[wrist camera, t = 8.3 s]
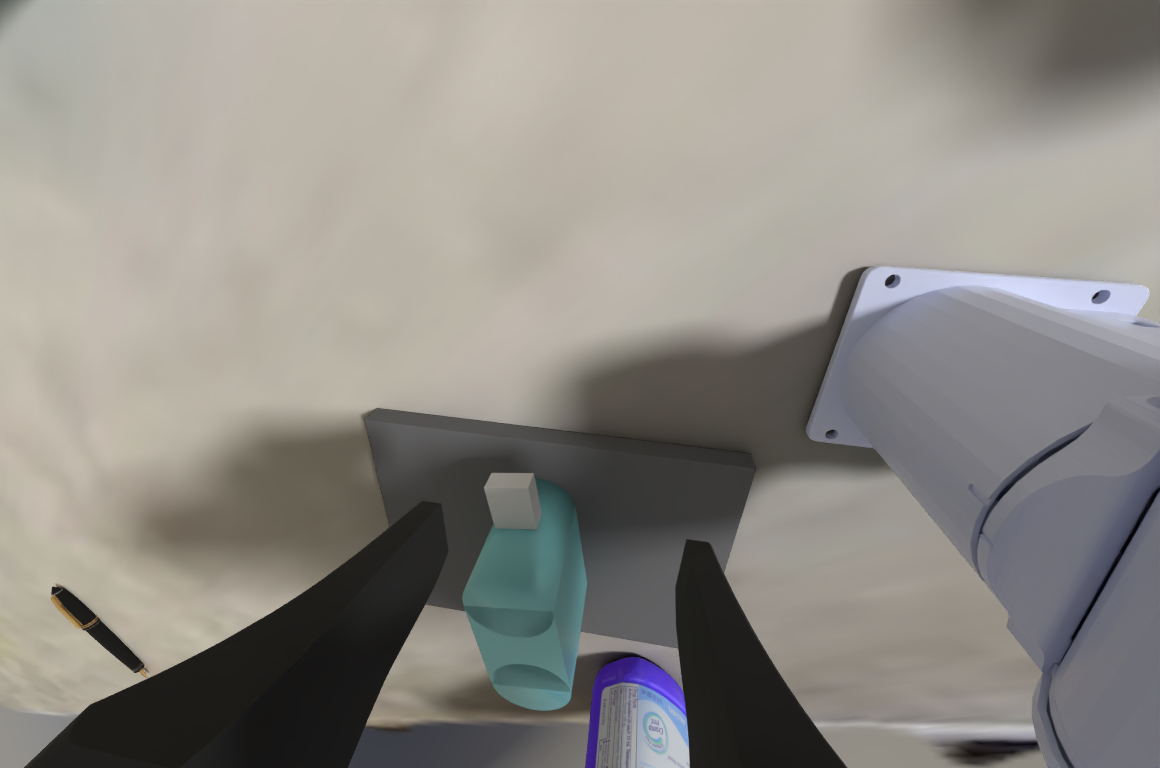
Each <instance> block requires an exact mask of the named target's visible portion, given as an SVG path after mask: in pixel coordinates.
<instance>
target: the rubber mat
mask: <svg viewBox="0 0 1160 768" xmlns="http://www.w3.org/2000/svg"><path fill="white" fill-rule="evenodd" d="M364 421H365V425H366V429H367V433H368V438H369V442H370V446H371V450H372V455H373V459H374V463H375V467H376V472H377V476H378V480H379V484H380V489H381V493H382V497H383V501H384V506H385V510H386V514H387V518H388V522H389V527H391V526H392V525H393V524H394V523H396V522H397V521H398V520H399V519H400V518H402V517H403V516H404V515H405V514H406V513H408V512H409V511H410V510H411V509H413V508H414V507H415V506H416V505H417V504H419V503H420V502H421V501H427V502H434V503H441V504H442V510H443V517H444V524H445V530H446V537H447V543H448V550H449V552H448V555H447V557H446V560H445V562H444V565H443V568H442V570H441V573H440V575H439V577H438V580H437V582H436V585H435V587H434V589H433V591H432V592H431V594H430V596H429V598H428V600H427V602H426V605H432V606H438V607H443V608H449V609H455V610H461V611H465V608H464V605H463V600H462V596H463V592H464V589H465V587H466V585H467V583H468V580H469V578H470V576H471V573H472V571H473V569H474V567H475V564H476V562H477V560H478V557H479V555H480V553H481V551H482V548H483V546H484V544H485V542H486V539H487V537H488V535H489V532H490V530H491V528H492V526H493V519H492V515H491V512H490V508H489V504H488V501H487V497H486V494H485V490H484V487H485V485H486V483H487V481H488V479H489V477H490V475H491V473H534V477H535V479H543V480H547V481H550V482H553V483H555V484H557V485H559V486H560V487H562V488H563V489H564V490H566V491H567V492H568V493H569V495H570V496H571V497H572V499H573V501H574V503H575V507H576V513H577V520H578V526H579V533H580V539H581V546H582V552H583V559H584V566H585V572H586V579H587V591H586V597H585V604H584V611H583V618H582V625H581V632H587V633H592V634H598V635H604V636H610V637H615V638H621V639H627V640H633V641H638V642H644V643H650V644H655V645H661V646H667V647H673V648H678V640H677V631H676V607H675V586H676V582H677V577H678V573H679V569H680V564H681V560H682V556H683V551H684V547H685V543H686V539H690V540H697V541H704V542H709V543H710V544H711V545H712V547H713V550H714V552H715V555H716V557H717V559H718V562H719V564H720V566H721V568H722V570H723V573H724V571H725V568H726V565H727V561H728V558H729V555H730V552H731V548H732V545H733V542H734V539H735V536H736V532H737V529H738V526H739V523H740V519H741V516H742V513H743V510H744V507H745V503H746V500H747V497H748V494H749V490H750V487H751V484H752V481H753V477H754V474H755V471H756V467H755V464H754V461H753V459H752V456H751V454H750V453H742V452H733V451H725V450H717V449H709V448H700V447H692V446H684V445H676V444H667V443H659V442H651V441H643V440H635V439H626V438H618V437H610V436H602V435H593V434H585V433H577V432H569V431H560V430H552V429H544V428H536V427H528V426H519V425H511V424H503V423H495V422H486V421H478V420H470V419H462V418H454V417H445V416H437V415H429V414H421V413H412V412H404V411H396V410H388V409H379V408H377V409H376V410H375V411H374V412H373V413H371V414H370V415H369V416H368V417H367V418H366V419H365V420H364Z"/></svg>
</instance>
